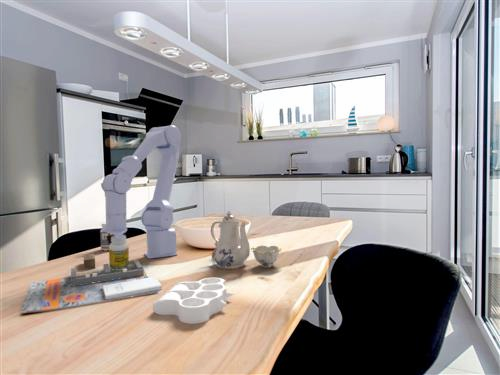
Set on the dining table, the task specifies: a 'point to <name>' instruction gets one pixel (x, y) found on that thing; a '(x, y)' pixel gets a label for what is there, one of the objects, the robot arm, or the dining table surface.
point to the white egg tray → (194, 300)
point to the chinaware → (238, 246)
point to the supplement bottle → (118, 253)
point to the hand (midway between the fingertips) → (116, 259)
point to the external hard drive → (131, 287)
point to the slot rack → (106, 274)
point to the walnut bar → (89, 261)
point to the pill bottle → (104, 238)
